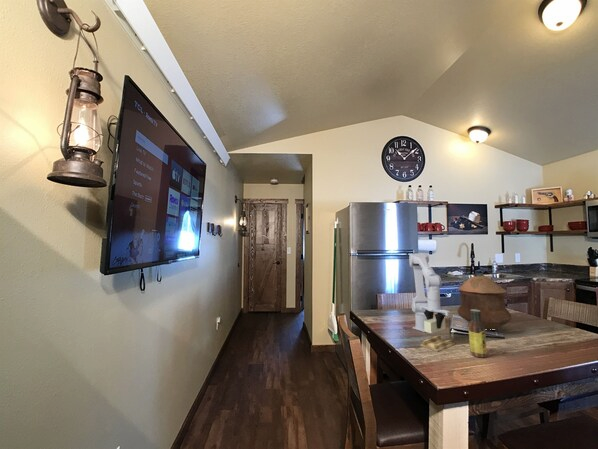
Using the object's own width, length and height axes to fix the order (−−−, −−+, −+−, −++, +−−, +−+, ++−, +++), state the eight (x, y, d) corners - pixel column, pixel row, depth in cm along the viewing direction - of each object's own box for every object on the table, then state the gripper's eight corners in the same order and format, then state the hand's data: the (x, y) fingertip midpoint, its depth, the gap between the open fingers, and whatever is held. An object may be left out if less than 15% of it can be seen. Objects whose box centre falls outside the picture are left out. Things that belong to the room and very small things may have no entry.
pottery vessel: (521, 339, 133) (518, 280, 135) (464, 334, 142) (461, 279, 144) (502, 323, 157) (499, 274, 159) (454, 320, 166) (451, 273, 168)
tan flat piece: (438, 339, 135) (438, 334, 135) (454, 344, 128) (454, 339, 128) (420, 345, 128) (420, 340, 128) (437, 351, 120) (437, 346, 120)
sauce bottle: (487, 359, 112) (484, 313, 113) (470, 356, 115) (467, 311, 116) (486, 353, 117) (483, 309, 119) (469, 350, 121) (467, 307, 122)
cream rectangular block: (438, 326, 134) (438, 317, 134) (445, 328, 131) (444, 318, 131) (424, 331, 128) (424, 320, 128) (431, 333, 125) (430, 322, 125)
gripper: (415, 297, 134) (417, 324, 133) (443, 303, 122) (444, 332, 121) (424, 296, 138) (425, 322, 137) (451, 301, 125) (453, 330, 125)
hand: (435, 327), depth 129 cm, fingers closed on cream rectangular block, 3 cm apart
